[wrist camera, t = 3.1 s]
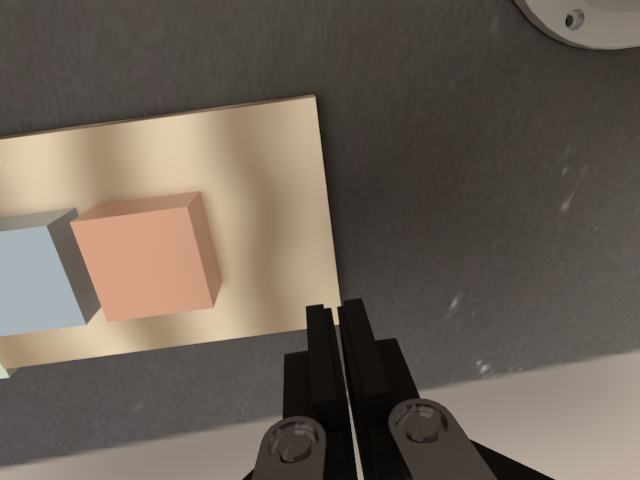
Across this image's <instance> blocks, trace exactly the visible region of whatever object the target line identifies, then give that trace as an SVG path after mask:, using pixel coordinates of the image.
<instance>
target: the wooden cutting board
mask: <svg viewBox="0 0 640 480" xmlns="http://www.w3.org/2000/svg"><path fill="white" fill-rule="evenodd" d="M195 191H200V193H201V197H202V201H203V205H204V209H205V213H206V217H207V221H208V226H209V230H210V234H211V238H212V242H213V246H214V250H215V254H216V259H217V263H218V267H219V271H220V275H221V279H222V285H221V288H220V291H219V294H218V296H217V299H216V302H215V305H214V308H210V309H202V310H195V311H187V312H180V313H172V314H165V315H157V316H150V317H142V318H135V319H128V320H120V321H113V322H107V320H106V317H105V314H104V312H103V309H102V307H101V308H100V309H99V310H98V312H97V313H96V314H95V315H94V316H93V318H92V319H91V320H90V321H89V322H88V324H87V325H83V326H75V327H68V328H60V329H53V330H45V331H38V332H30V333H23V334H16V335H8V336H1V337H0V363H1V365H2V367H3V369H9V368H17V367H24V366H32V365H39V364H47V363H54V362H61V361H69V360H76V359H84V358H91V357H99V356H106V355H114V354H121V353H129V352H136V351H144V350H151V349H159V348H166V347H174V346H181V345H189V344H196V343H203V342H211V341H218V340H226V339H233V338H241V337H248V336H256V335H263V334H271V333H278V332H286V331H293V330H301V329H307V322H306V306H310V305H317V304H324V308H331V309H332V314H333V320H334V325H338V324H339V319H338V312H337V307H338V306H341V303H340V295H339V286H338V278H337V270H336V262H335V254H334V246H333V237H332V229H331V221H330V213H329V205H328V197H327V189H326V180H325V172H324V164H323V156H322V148H321V140H320V131H319V123H318V115H317V107H316V99H315V96H314V94H311V95H303V96H296V97H288V98H281V99H274V100H266V101H259V102H251V103H244V104H237V105H229V106H222V107H214V108H207V109H200V110H192V111H185V112H177V113H170V114H163V115H155V116H148V117H140V118H133V119H126V120H118V121H111V122H103V123H96V124H89V125H81V126H74V127H66V128H59V129H52V130H44V131H37V132H29V133H22V134H15V135H7V136H0V218H2V217H9V216H16V215H24V214H31V213H39V212H46V211H54V210H61V209H68V208H76V210H77V213H78V215H79V216H80V215H82V214H83V213H85V212H86V211H88V210H89V209H91V208H92V207H94V206H95V205H98V204H105V203H113V202H120V201H128V200H135V199H143V198H150V197H157V196H165V195H172V194H180V193H187V192H195Z"/></svg>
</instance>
